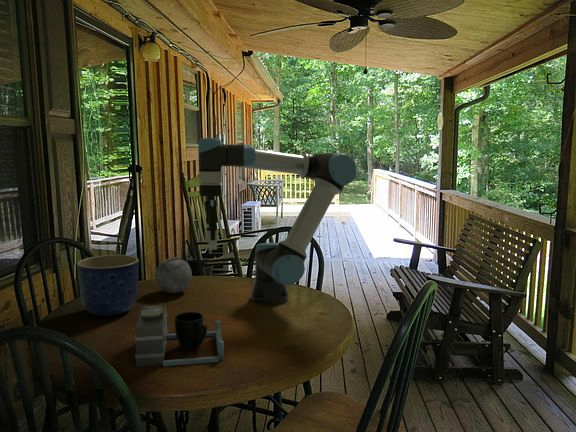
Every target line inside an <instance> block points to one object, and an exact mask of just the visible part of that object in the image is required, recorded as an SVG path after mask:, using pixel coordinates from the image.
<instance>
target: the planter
mask: <svg viewBox="0 0 576 432" xmlns="http://www.w3.org/2000/svg"><path fill="white" fill-rule="evenodd" d="M139 261H140V260H139V258H138V257H136V256H133V255H128V254H127V255H125V254H107V255H97V256H96V255H95V256H91V257H87V258H84V259H81V260H79V261H78V262H77V263H76V269H77V277H78V282H79V283H78V285H79V290H80V291H79V292H80V293H79V294H80V299H81V303H82V306H83V307H84V309H85V310H86V312H88V313H89V314H91V315H94V316H97V317H114V316H118V315H122V314H123V313H126V312H127V311H129V310H130V309H131V308H132V307H133V306H134V305H135V302H136V299H137V295H138V285H139V282H138V281H139V265H140V264H139Z"/></svg>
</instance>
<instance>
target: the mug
mask: <svg viewBox="0 0 576 432" xmlns="http://www.w3.org/2000/svg"><path fill="white" fill-rule="evenodd" d="M174 329H175V334H176V337H177V339H176V340H177V344H178V346H179V349H180V350H181V351H185V352H189V351H195V350H198V349H199V348H200V347H201V346H202V345H203V342H204V340H205V338H206V337H207V336H206V333H207V332H208V327H207V324H205V323H204V316H203V314H202V313H199V312H195V311H188V312H186V311H185V312H181V313H178V314H177V315H175V316H174ZM205 336H206V337H205Z"/></svg>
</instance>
